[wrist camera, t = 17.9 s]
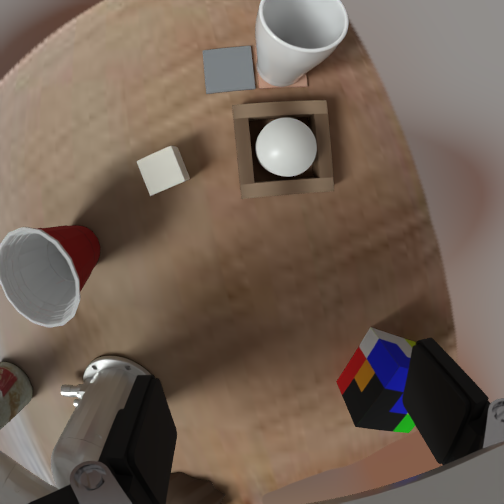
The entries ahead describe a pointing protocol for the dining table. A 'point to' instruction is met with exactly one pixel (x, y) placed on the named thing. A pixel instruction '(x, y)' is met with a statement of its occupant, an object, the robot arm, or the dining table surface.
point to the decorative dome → (191, 491)
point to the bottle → (13, 391)
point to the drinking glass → (296, 37)
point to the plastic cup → (47, 271)
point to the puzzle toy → (378, 382)
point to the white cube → (163, 169)
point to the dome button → (286, 147)
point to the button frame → (276, 110)
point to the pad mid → (228, 69)
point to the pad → (263, 84)
